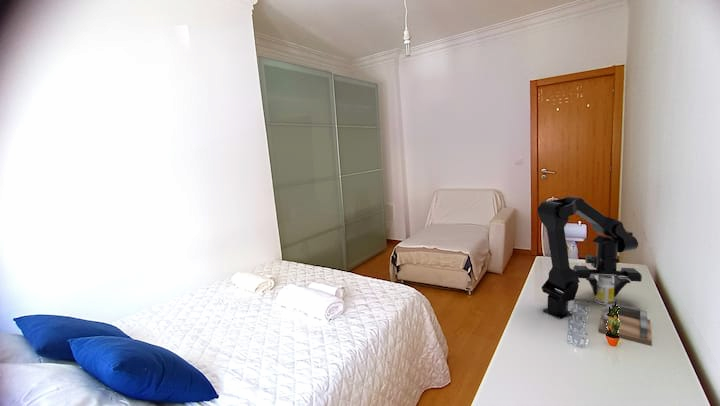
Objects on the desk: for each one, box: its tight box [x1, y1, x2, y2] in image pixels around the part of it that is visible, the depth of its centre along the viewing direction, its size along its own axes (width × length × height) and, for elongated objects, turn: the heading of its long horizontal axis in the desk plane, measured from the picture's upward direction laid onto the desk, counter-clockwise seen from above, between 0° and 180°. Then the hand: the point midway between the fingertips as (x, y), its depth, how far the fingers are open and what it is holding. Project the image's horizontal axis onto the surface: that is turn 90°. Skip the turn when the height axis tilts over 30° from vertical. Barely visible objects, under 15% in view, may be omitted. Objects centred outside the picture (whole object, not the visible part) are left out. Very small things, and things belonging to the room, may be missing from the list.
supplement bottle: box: [594, 275, 615, 306], centre depth 114 cm, size 5×5×10 cm
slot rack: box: [598, 303, 653, 346], centre depth 99 cm, size 14×12×4 cm
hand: (604, 295), depth 115 cm, fingers closed on supplement bottle, 5 cm apart
